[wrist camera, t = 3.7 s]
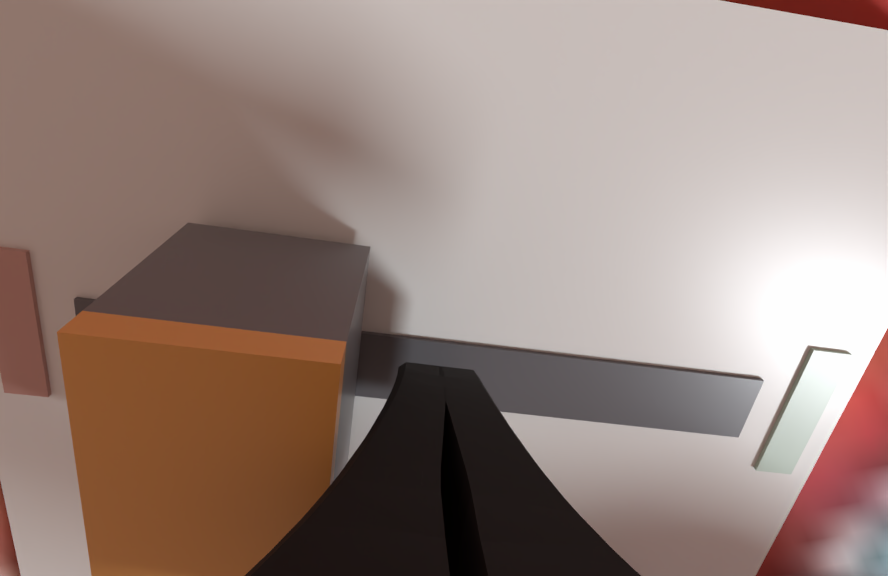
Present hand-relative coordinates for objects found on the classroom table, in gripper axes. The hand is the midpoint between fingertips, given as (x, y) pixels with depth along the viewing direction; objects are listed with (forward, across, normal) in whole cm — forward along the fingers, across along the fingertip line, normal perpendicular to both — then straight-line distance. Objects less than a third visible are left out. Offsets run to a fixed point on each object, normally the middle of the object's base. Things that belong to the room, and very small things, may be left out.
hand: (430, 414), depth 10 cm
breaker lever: (+1, +3, 0) cm, 3 cm away
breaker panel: (+3, 0, +4) cm, 5 cm away
